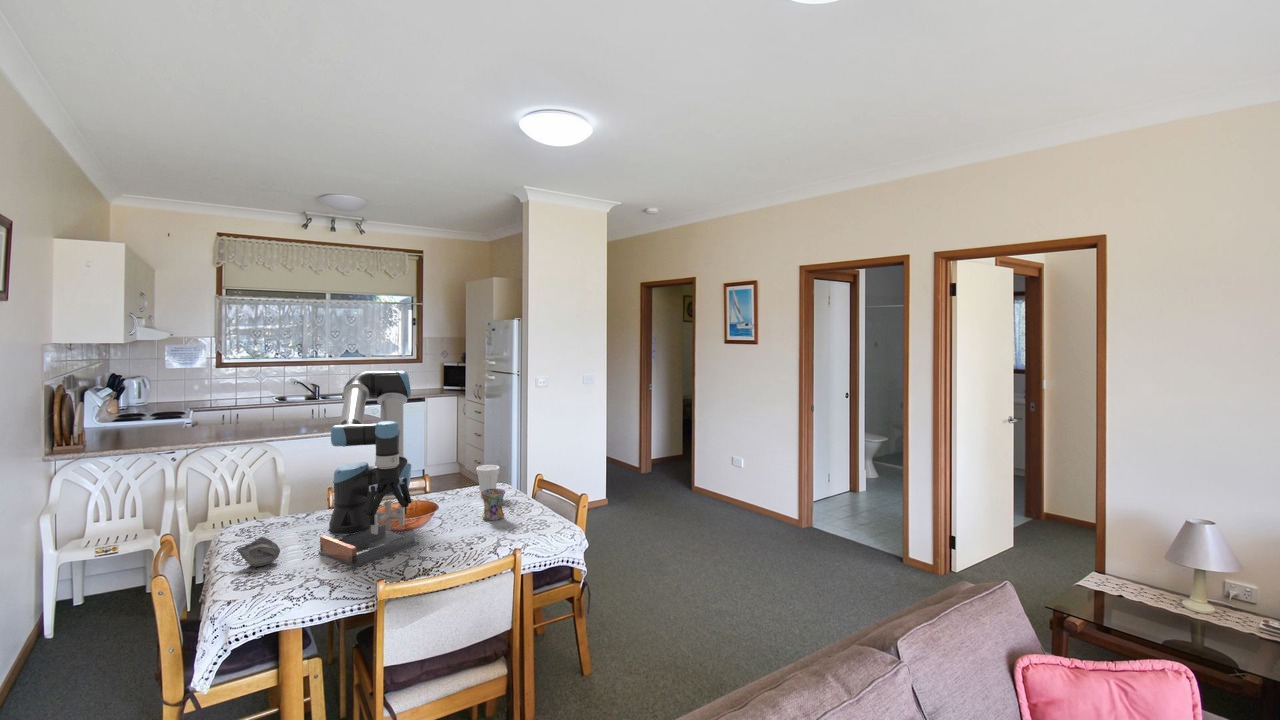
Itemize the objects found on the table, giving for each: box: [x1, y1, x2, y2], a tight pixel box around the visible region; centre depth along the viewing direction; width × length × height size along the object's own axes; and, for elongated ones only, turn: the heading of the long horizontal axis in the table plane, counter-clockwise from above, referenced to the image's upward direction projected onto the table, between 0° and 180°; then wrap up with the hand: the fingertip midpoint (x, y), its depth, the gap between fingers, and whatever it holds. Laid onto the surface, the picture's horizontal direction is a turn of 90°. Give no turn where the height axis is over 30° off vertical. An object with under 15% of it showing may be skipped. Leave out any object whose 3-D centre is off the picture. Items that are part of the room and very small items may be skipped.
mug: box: [480, 487, 506, 521], centre depth 233 cm, size 12×9×11 cm
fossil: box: [237, 536, 281, 567], centre depth 186 cm, size 11×9×8 cm
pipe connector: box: [375, 500, 403, 531], centre depth 205 cm, size 10×10×10 cm
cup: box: [476, 464, 501, 498], centre depth 260 cm, size 10×10×13 cm
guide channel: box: [318, 523, 420, 569], centre depth 200 cm, size 24×20×6 cm
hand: (388, 528), depth 206 cm, fingers closed on pipe connector, 10 cm apart
